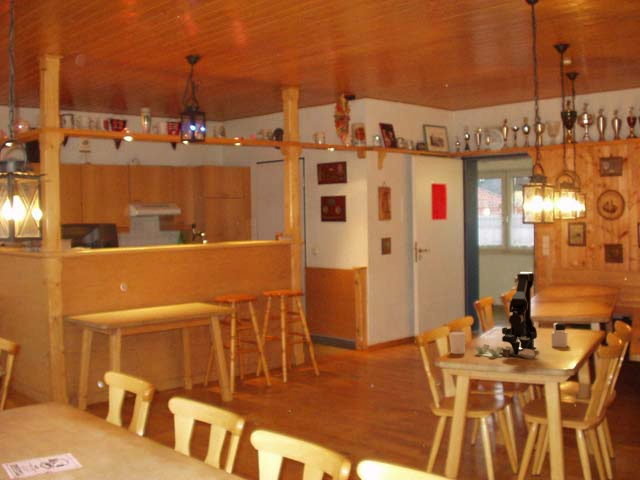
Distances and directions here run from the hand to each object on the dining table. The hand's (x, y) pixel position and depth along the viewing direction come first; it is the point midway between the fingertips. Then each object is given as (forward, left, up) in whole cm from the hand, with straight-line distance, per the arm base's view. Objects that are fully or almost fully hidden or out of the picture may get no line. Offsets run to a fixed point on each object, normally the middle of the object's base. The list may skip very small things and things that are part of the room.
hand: (519, 354), depth 372 cm
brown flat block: (0, -8, -1) cm, 8 cm away
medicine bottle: (-37, -5, -1) cm, 37 cm away
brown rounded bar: (0, 0, -1) cm, 1 cm away
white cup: (+15, -27, -1) cm, 31 cm away
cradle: (+8, -12, -1) cm, 15 cm away
